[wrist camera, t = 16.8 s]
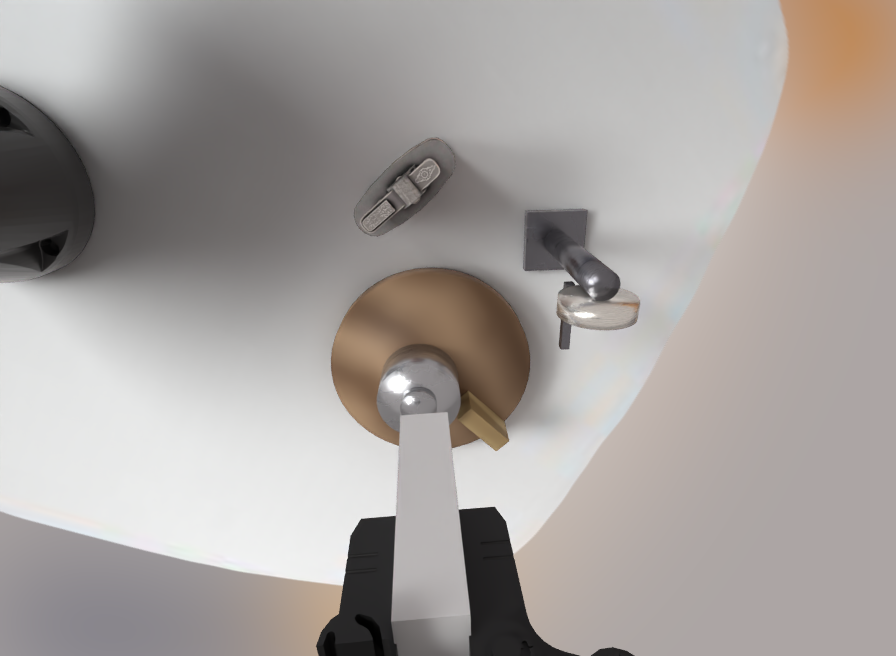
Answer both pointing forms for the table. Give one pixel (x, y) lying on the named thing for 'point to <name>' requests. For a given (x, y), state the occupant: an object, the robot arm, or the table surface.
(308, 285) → the table surface
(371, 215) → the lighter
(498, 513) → the robot arm
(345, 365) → the turntable
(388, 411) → the cover
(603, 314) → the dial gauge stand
